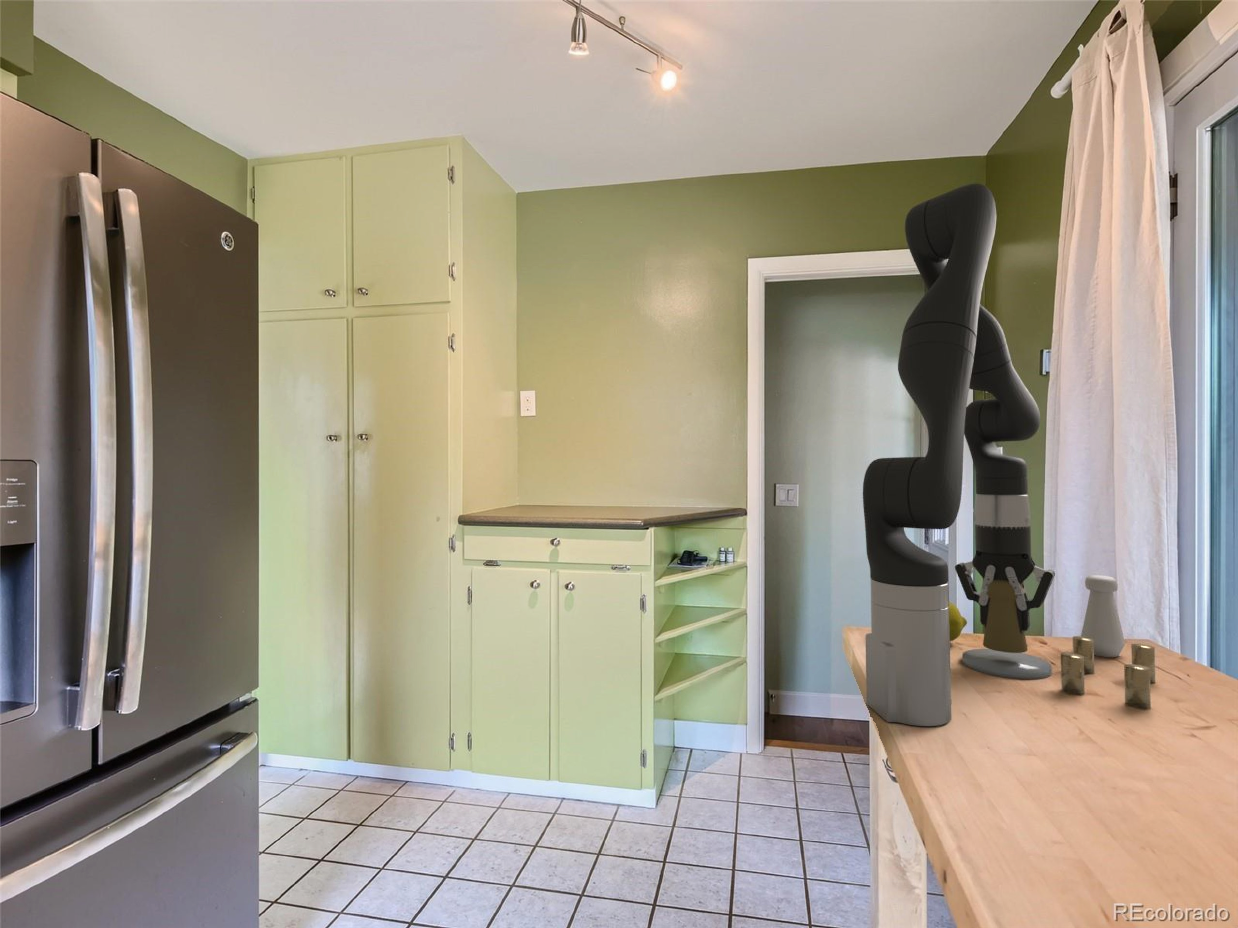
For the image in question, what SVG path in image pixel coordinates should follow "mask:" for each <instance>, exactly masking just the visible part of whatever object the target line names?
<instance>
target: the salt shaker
mask: <svg viewBox="0 0 1238 928" xmlns="http://www.w3.org/2000/svg"><path fill="white" fill-rule="evenodd" d="M1084 585H1085V589H1087V590H1088V591H1089V594H1088V595H1089V596H1088V600H1087V601H1088V602H1087V606H1086V611H1085V615H1084V620H1083V625H1082V629H1081V633H1080V636H1082V637H1088V638H1092V639H1094V656H1097V657H1103V658H1116V657H1119V656H1120V654H1121V653H1122V651H1123V649H1124V648H1125V645H1126V642H1125V636H1124V633H1123V629H1122V625H1121V621H1120V619H1121V618H1120V616H1119V613H1118V608H1117V604H1116V603H1117V602H1116V600H1115V595H1114V592H1117V591H1118V586H1119V585H1118V581H1117V580H1116V579H1115V578H1114V577H1111V576H1109V575H1100V574H1099V575H1097V574H1095V575H1094V574H1093V575H1088V576H1086V577H1085V581H1084Z"/></svg>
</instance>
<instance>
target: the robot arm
mask: <svg viewBox="0 0 1238 928" xmlns="http://www.w3.org/2000/svg"><path fill="white" fill-rule="evenodd" d="M996 226H997V208H996V202H995V198H994V196H993V193H992V191H991V190H990V189H989V187H987V186H986V185H984V184H982V183H977V182H975V183H969V184H967V185H962V186H959V187H957V188H954V189H952V190H950V191H949V190H948V192H945V193H942V194H940V195H938V196H936V197H933V198H930V199H927V200H926V201H923V202H920V203H918V204H917V205H915V206H913V207H912V208H911V209H910V210H909V211H908V213H907V215H906V218H905V222H904V232H905V239H906V244H907V247H908V249H909V252H910V254H911V258H912V259H913V262H914V264H915V267H916V268H917V271H918V273H919V275H920V277H921V279H922V281H923V284H924V286H925V288H926V290H927V291H926V293H925V294H924V295H923V297H921V299H920V300H919V302H918V303H917V305H916V306H915V308H914V309H913V311H912V312H911V313H910V315H909V317H908V318H907V320H906V322H905V325H904V328H903V330H902V335H901V341H900V347H899V355H898V360H897V372H898V375H899V379H900V381H901V382H902V385H903V386H904V389H905V390H906V392H907V393H908V395H909V396H910V398H911V399H912V401H913V403H914V404H915V406H916V408H917V409H918V410H919V412H920V414H921V416H922V418H923V420H924V422H925V425H926V428H927V434H928V436H927V437H928V445H927V447H928V448H927V453H926V455H925V456H908V457H907V456H905V457H903V456H898V457H882V458H877V459H874V460H872V462H870V463H869V465H868V466H867V468H866V470H865V473H864V477H863V483H862V484H863V485H862V507H863V515H864V516H863V518H864V530H865V545H866V547H865V548H866V557H867V560H868V564H869V571H870V572H869V574H870V575H869V577H870V609H871V610H870V613H871V614H870V617H871V618H870V620H871V621H870V624H871V632H869V633H866V634H865V637H864V638H865V639H864V640H865V681H866V682H865V684H866V685H865V688H866V690H865V691H866V704H867V706H868V707H870V708H871V709H872V710H873V711H874V712H876V714H878V715H879V716H880V717H881V718H882V719H883V720H885V721H886V722H888V723H900V724H905V725H908V726H909V725H911V726H916V727H917V726H919V727H934V726H935V727H936V726H942V725H946V724H947V723H949V722H950V721H951V720H952V689H951V688H952V686H951V681H952V680H951V677H952V676H951V645H950V644H951V641H950V629H949V602H950V596H949V595H950V588H949V587H950V586H949V584H950V583H949V567H948V566H949V565H948V563H947V562H946V560H945V558H944V559H943V558H942V557H940V556H938V555H937V554H934V553H932V552H929V551H927V550H925V549H923V548H921V547H920V546H918V545H916V544H915V543H914V542H912V541H911V540H910V539H909V538H908V536H907V535H906V531H905V529H919V530H922V529H923V530H945V529H948V528H950V527H951V526H952V525H953V524H954V523H955V521H956V519H957V516H958V515H959V514H958V513H959V511H960V507H961V501H962V494H963V493H962V491H963V474H964V473H963V472H964V470H963V469H964V445H965V444H964V442H966V443H967V446H968V449H969V452H970V456H971V460H972V462H973V466H974V469H975V503H974V515H973V522H974V536H975V537H974V540H975V542H974V543H975V544H974V546H975V549H974V550H975V554H974V557H973V558H972V561H968V562H960V563H957V564H956V565H955V567H954V568H955V572H956V574H957V577H958V580H959V581H960V584H961V587H962V590H963V592H964V595H965V596H966V599H968V600H969V601H974V602H976V603H977V604H978V605H979V618H980V619H979V621H980V624H981V625H982V626H984V630H985V629H986V624H987V617H988V610H989V607H988V603H989V596H988V595H987V593H986V592H987V591H988V585H989V584H990V583H991V582H993V580H1007V581H1009V583H1010V584H1011V585H1012V586H1013V588H1014V590H1015V594H1016V595H1017V599H1016V603H1017V606H1018V610H1017V619H1018V624H1019V629H1020V633H1021V634H1023V631H1024V632H1025V633H1026V632H1027V631H1028V630H1029V629H1030V627H1031V626H1030V625H1031V623H1030V622H1031V621H1030V617H1031V616H1030V610H1031V609H1039V608H1040V607H1041V606H1042V605H1043V604H1044V602H1045V600H1046V597H1047V595H1048V593H1049V591H1050V589H1051V588H1050V587H1051V586H1052V584H1053V581H1054V579H1055V577H1056V572H1055V571H1054V570H1052V569H1048V570H1047V569H1044V568H1042V567H1039V566H1037V565H1036V564H1035V562H1034V560H1033V557H1032V541H1031V539H1032V536H1031V507H1030V501H1029V495H1028V494H1029V492H1028V491H1029V489H1028V487H1029V486H1028V466H1027V462H1026V461H1025V460H1024V459H1023V458H1020V457H1016V456H1010V455H1005V454H1002V453H1001V451H1000V450H999V448H998V447H997V444H996V443H999V442H1001V443H1003V442H1021V441H1027V440H1029V439H1031V438H1032V437H1034V436H1035V435H1036V433H1037V432H1038V430H1039V428H1040V424H1041V413H1040V412H1041V411H1040V409H1039V406H1038V404H1037V402H1036V401H1035V398H1034V397H1033V395H1032V394H1031V392H1030V391H1029V390H1028V388H1027V387H1026V385H1025V383H1024V382H1023V381H1022V379H1021V378H1020V376H1019V373H1017V371H1016V369H1015V368H1014V365H1013V363H1012V362H1013V361H1012V359H1011V354H1010V350H1009V347H1008V344H1007V340H1006V336H1005V333H1004V330H1003V328H1002V326H1001V324H1000V323H999V321H998V320H997V318H996V317H995V316H994V315H993V314H992V313H991V312H990V311H989V310H987V309H986V307H984V306H983V305H982V304H981V298H982V291H983V285H984V280H985V276H986V272H987V268H988V265H989V264H988V263H989V260H990V255H991V252H992V247H993V244H994V239H995V234H996ZM970 390H973V391H980V392H986V393H989V394H991V395H992V396H993V398H983V399H977V400H974V401H972V402H970V403H969V404H968V397H969V391H970ZM965 440H966V441H965ZM904 528H905V529H904ZM974 569H975V570H976V572H978V574H979V575H980V576H981V578H982V579H983V582H982V585H981V589H980V590H981V591H980V592H978V590H977V588H976V585H975V582H974V579H973V577H972V575H973V574H974ZM1032 573H1033V574H1035V581H1036V582H1037V583H1039V584H1038V585H1037V588H1036V591H1035V593H1034V596H1033V598H1031V599H1029V597H1028V592H1027V588H1026V584H1025V581H1027V579H1028V578H1029V577H1030V575H1032ZM987 584H988V585H987ZM1020 585H1022V587H1023V589H1021V586H1020ZM1015 587H1016V588H1015Z"/></svg>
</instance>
